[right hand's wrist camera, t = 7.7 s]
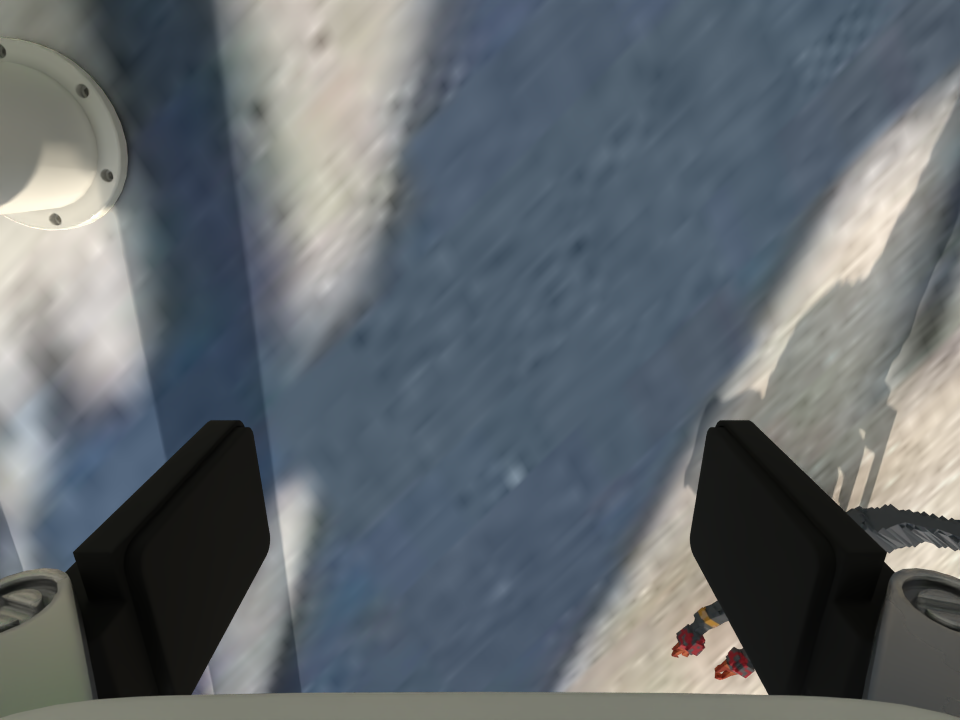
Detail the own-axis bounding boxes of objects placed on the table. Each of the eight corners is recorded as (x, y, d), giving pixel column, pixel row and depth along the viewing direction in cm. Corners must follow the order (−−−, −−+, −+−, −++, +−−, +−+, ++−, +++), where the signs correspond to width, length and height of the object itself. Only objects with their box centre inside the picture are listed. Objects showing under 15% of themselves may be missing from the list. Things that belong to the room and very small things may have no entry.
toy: (940, 494, 50) (1184, 671, 32) (729, 667, 57) (836, 886, 40) (842, 415, 47) (1052, 565, 30) (634, 609, 54) (706, 817, 37)
